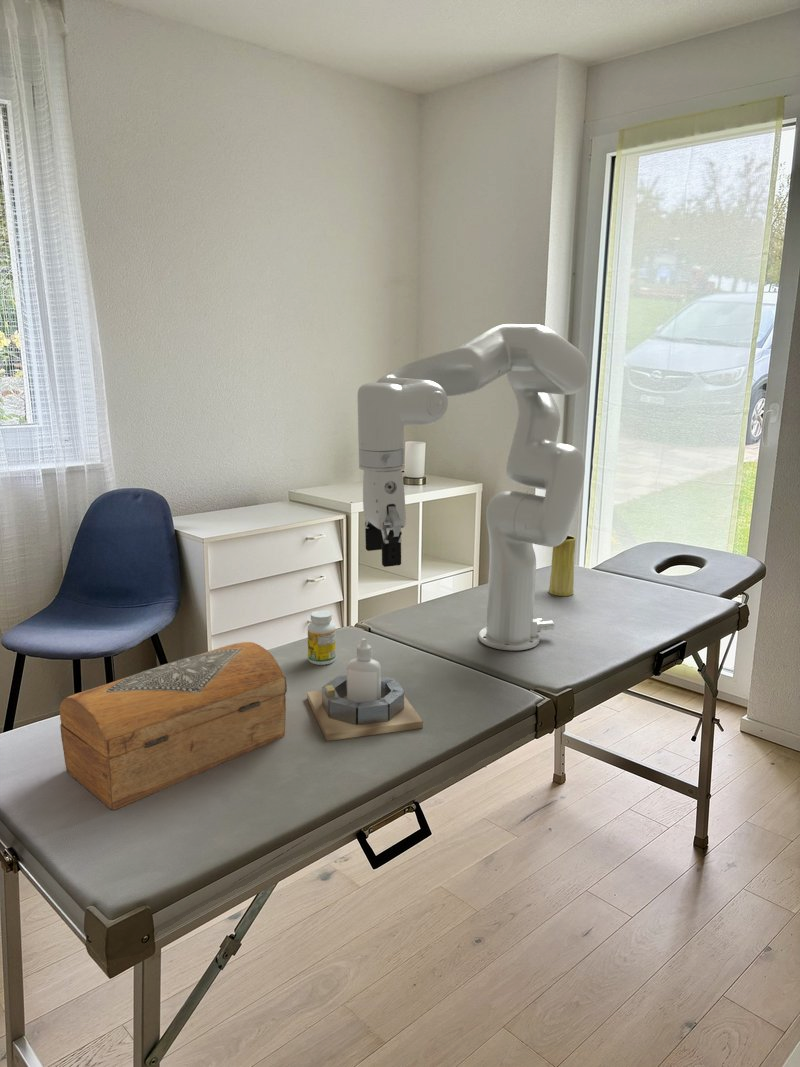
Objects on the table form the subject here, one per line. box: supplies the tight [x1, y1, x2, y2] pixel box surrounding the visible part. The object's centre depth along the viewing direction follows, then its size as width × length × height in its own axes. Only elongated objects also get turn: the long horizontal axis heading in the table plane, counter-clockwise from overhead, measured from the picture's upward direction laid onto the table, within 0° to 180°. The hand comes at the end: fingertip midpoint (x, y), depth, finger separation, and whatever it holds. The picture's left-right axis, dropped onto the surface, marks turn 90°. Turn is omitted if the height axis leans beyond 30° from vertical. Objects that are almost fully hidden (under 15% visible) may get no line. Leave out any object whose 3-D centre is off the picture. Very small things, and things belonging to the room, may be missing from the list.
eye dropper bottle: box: [346, 637, 382, 702], centre depth 137 cm, size 4×6×12 cm
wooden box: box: [59, 641, 288, 811], centre depth 124 cm, size 30×16×14 cm, turn 136°
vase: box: [548, 534, 576, 597], centre depth 202 cm, size 6×6×14 cm
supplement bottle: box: [307, 610, 337, 666], centre depth 159 cm, size 5×5×10 cm
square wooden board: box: [306, 689, 424, 742], centre depth 139 cm, size 16×16×1 cm
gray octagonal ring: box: [321, 674, 405, 725], centre depth 138 cm, size 13×13×4 cm
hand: (382, 557), depth 141 cm, fingers open, 9 cm apart
